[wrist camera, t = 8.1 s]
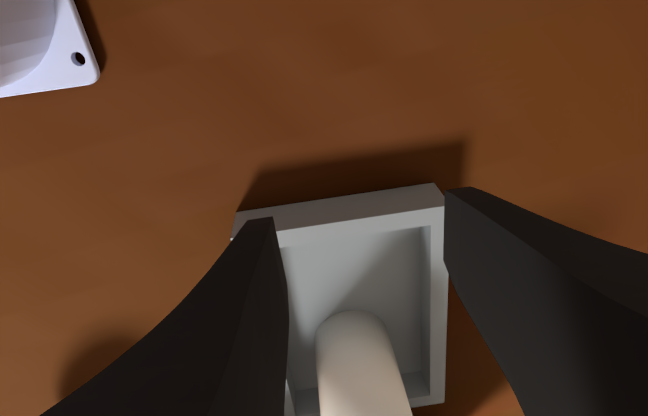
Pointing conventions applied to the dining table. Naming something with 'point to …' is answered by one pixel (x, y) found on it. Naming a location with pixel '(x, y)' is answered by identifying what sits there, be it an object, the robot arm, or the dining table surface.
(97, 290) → the dining table surface
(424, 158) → the dining table surface
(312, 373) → the tray
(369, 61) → the dining table surface
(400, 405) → the beige rounded lump
